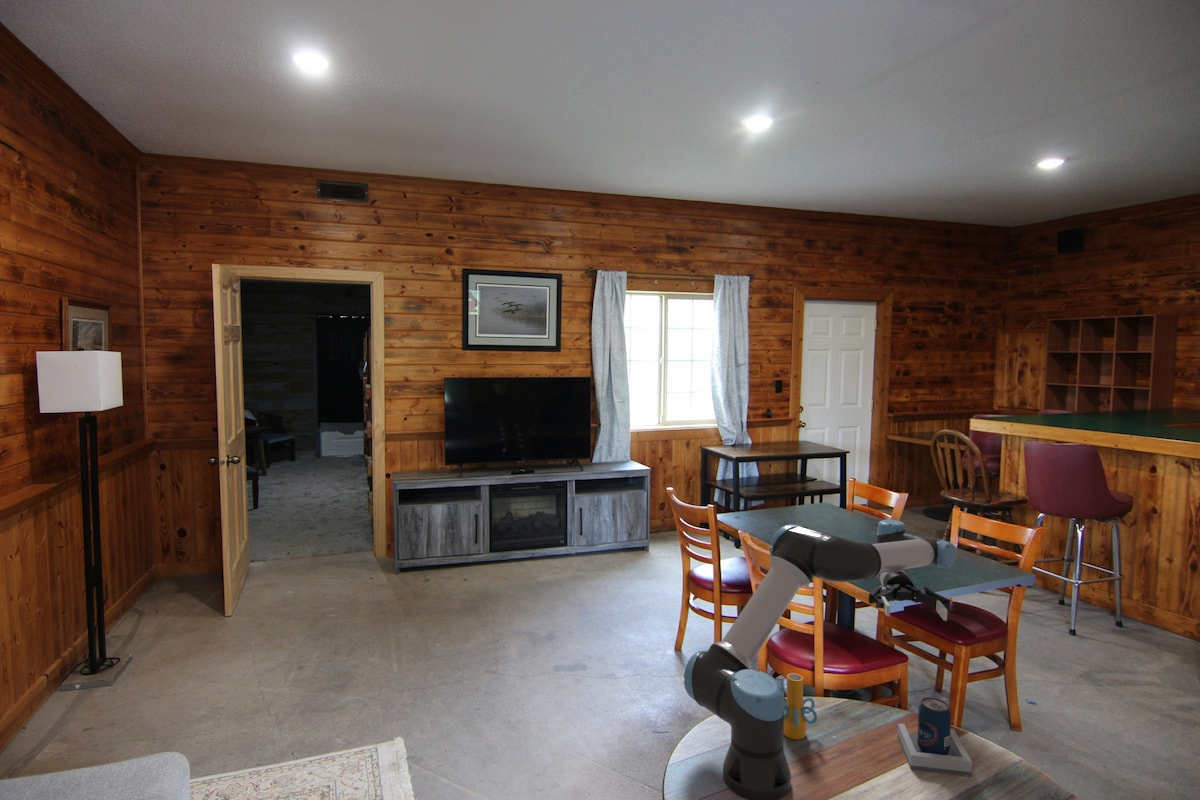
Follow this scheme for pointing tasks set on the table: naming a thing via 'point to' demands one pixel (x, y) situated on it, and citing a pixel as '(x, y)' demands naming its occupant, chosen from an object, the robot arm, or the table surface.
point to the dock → (935, 755)
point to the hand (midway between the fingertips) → (916, 613)
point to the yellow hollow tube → (796, 708)
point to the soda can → (934, 726)
